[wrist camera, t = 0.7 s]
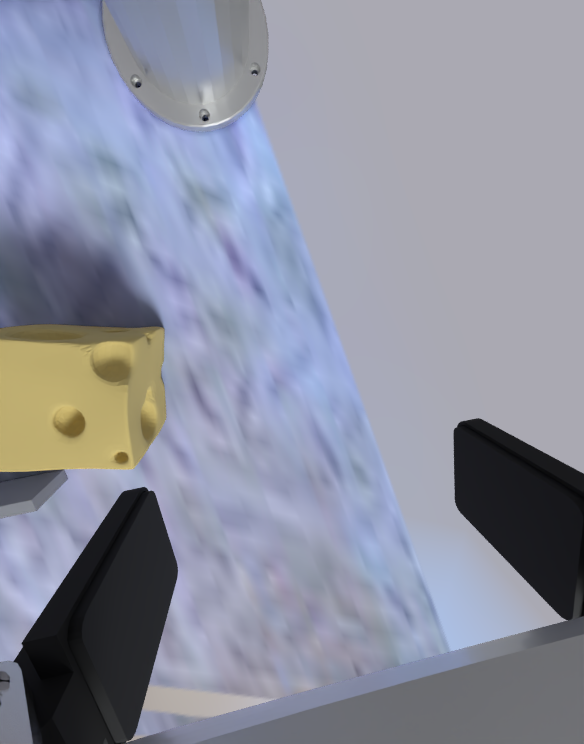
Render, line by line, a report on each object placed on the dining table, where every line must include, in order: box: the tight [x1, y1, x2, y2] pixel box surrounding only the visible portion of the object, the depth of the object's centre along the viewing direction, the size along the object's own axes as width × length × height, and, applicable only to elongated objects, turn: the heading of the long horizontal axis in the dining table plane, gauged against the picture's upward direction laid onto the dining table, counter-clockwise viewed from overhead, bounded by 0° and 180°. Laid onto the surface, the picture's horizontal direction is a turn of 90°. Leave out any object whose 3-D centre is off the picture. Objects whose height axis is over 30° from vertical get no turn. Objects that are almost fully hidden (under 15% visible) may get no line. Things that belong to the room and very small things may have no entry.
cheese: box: [0, 324, 166, 472], centre depth 26 cm, size 10×11×10 cm
